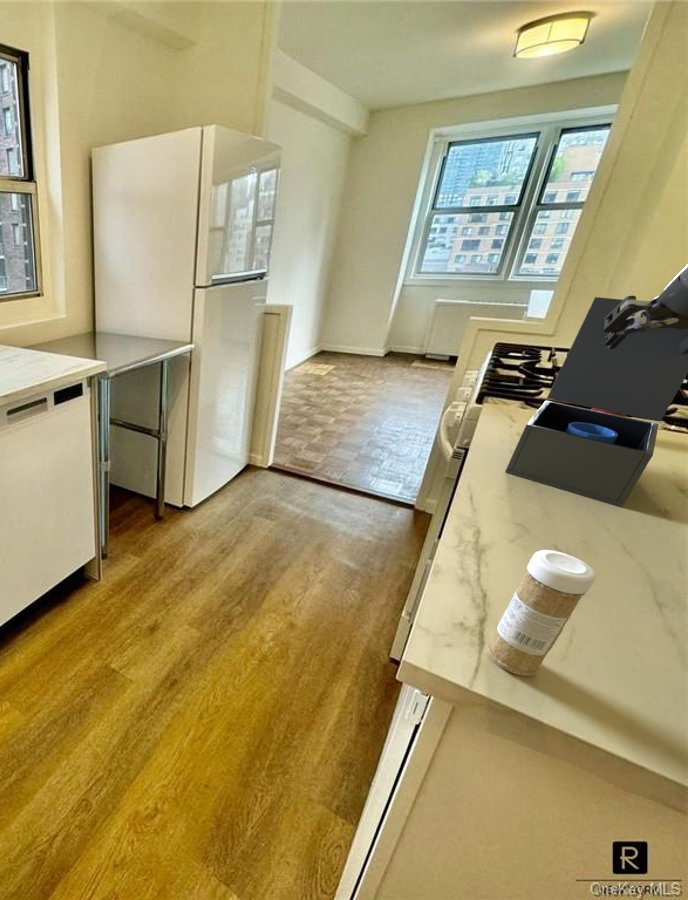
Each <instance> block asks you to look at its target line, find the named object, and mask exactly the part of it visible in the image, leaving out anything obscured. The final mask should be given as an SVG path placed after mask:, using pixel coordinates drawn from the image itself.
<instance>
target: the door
mask: <svg viewBox="0 0 688 900" xmlns="http://www.w3.org/2000/svg"><path fill="white" fill-rule="evenodd" d="M623 300H624V299H620V298H610V297H609V298H607V297H599V296H595V297H594V298H593V299H592V303H591V304H590V307H589V308H588V311H587V313H586V315H585V317H584V319H583V321H582V323H581V324H580V328H579V329H578V332H577V334H576V335H575V338H574V340H573V342H572V344H571V346H570V348H569V350H568V353H567V355H566V357H565V358H564V361H563V362H562V365H561V367H560V369H559V371H558V373H557V376H556V378H555V380H554V382H553V384H552V386H551V389H550V390H549V393H548V395H547V397H546V399H549V400H553V401H558V402H563V403H567V404H573V405H578V406H582V407H587V408H590V409H592V408H596V409H601V410H606V411H611V412H616V413H620V414H625V416H631V417H634V418H640V419H645V420H650V421H655V422H659V423H660V422H661V421H662V420H663V418H664V416H665V415H666V413H667V411H668V409H669V408H670V405H671V404H672V402H673V401H674V399H675V396H676V395H677V393H678V391H679V390H680V388H681V386H682V384H683V383H684V381H685V379H686V378H687V375H688V354H687V355H684V354H680V353H679V345H680V343H681V342H682V341H684V340H685V339H686V338H687V337H688V328H687V329H676V328H657V327H656V328H653V329H650V330H647V331H644V332H640V331H637V332H634V333H631V334H628V335H626V338H625V339H624V340H623V341H622V342H621V343H620V344H619V345H618V346H617V347H616V348H615V349H608V348H607V347H608V346H606V336H607V335H608V334H609V333H606V332H604V325H605V322H604V318H605V317H606V316H607V315H608V314H609V313H610V312H611V311H612V310H613V309H614V308H615V307H616V306H617V305H618V304H619V303H620V302H621V301H623ZM650 321H651V320H650V318H649V316H647V317H646V323H647V322H650ZM634 323H635V322H634ZM634 323H631V324H628V327H629V326H632V325H634Z"/></svg>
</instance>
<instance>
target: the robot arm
mask: <svg viewBox="0 0 688 900" xmlns="http://www.w3.org/2000/svg"><path fill="white" fill-rule="evenodd" d="M622 300H623V301H621V302H620V303H619V304H618V305H617V306H616V307H615V308H614V309H613V310H612V311H611V312H610V313H609V314H608V315H607V316H606V317H605V318H604V322H605V325H604V332H606V333H609V334H608V335H607V336H606V346H608V347H607V348H608V349H615V348H616V347H617V346H618V345H619V344H620V343H621V342H622V341H623V340H624V339H625V338H626V335H628V334H631V333H634V332H637V331H640V332H644V331H647V330H650V329H653V328H656V327H657V328H676V329H687V328H688V264H686V266H684V268H683V269H682V270H681V271H680V272H679V273H678V274H677V275H676V276H675V277H674V278H673V279H672V280H671V281H670V282H668V284H667V285H666V287H665V288H663V290H662V292H661V293H660V294H659V295H658V296H656V297H654V298H653V299H650V300H639V299H638V300H637V296H636V295H628V296H626V297H624V298H623V299H622ZM647 316H649V318H650V320H651V321H650V322H647V323H646V317H647ZM634 322H635V323H634ZM631 323H634V325H632V326H629V327H628V324H631ZM679 353H680V354H684V355H687V354H688V337H687V338H686V339H685V340H684V341H682V342H681V343H680V345H679Z"/></svg>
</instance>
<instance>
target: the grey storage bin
mask: <svg viewBox="0 0 688 900" xmlns="http://www.w3.org/2000/svg"><path fill="white" fill-rule="evenodd" d="M572 422H582V423H589V424H595V425H599V426H602V427H605V428H608V429H611V430H613V431H615V432H616V433H617V434H618V436H617V438H616V440H615V442H614V444H611V443H607V442H603V441H599V440H595V439H591V438H586V437H582V436H578V435H574V434H570V433H565V430H566V428H567V426H568V424H569V423H572ZM658 430H659V423H656V422H652V421H647V420H641V419H637V418H632V417H627V416H625V417H623V416H618V415H613V414H609V413H604V412H599V411H594V410H591V408H590V409H589V408H584V407H579V406H575V405H569V404H566V403H560V402H555V401H550V400H545V401H544V402H543V404H542V405H541V406H540V407H539V409H538V410H536V412H535V414H533V416H532V417H531V418H530V420H528V422H527V423H526V425H525V427H524V429H523V431H522V433H521V435H520V437H519V439H518V442H517V444H516V447H515V449H514V451H513V453H512V456H511V457H510V460H509V462H508V464H507V467H506V469H505V471H504V473H505V474H508V475H509V474H510V475H512V476H515V477H519V478H522V479H526V480H529V481H533V482H536V483H539V484H542V485H547V486H549V487H553V488H556V489H558V490H559V489H560V490H562V491H566V492H570V493H572V494H576V495H579V496H582V497H587V498H589V499H593V500H596V501H599V502H603V503H606V504H609V505H612V506H616V507H619V508H623V506H624V504H625V503H626V501H627V499H628V497H629V496H630V494H631V493H632V491H633V489H634V488H635V486H636V484H637V482H638V481H639V480H640V478H641V476H642V474H643V473H644V471H645V469H646V467H647V466H648V464H649V463H650V461H651V460H652V457H653V456H654V452H655V446H656V441H657V437H658V436H657V435H658Z"/></svg>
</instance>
